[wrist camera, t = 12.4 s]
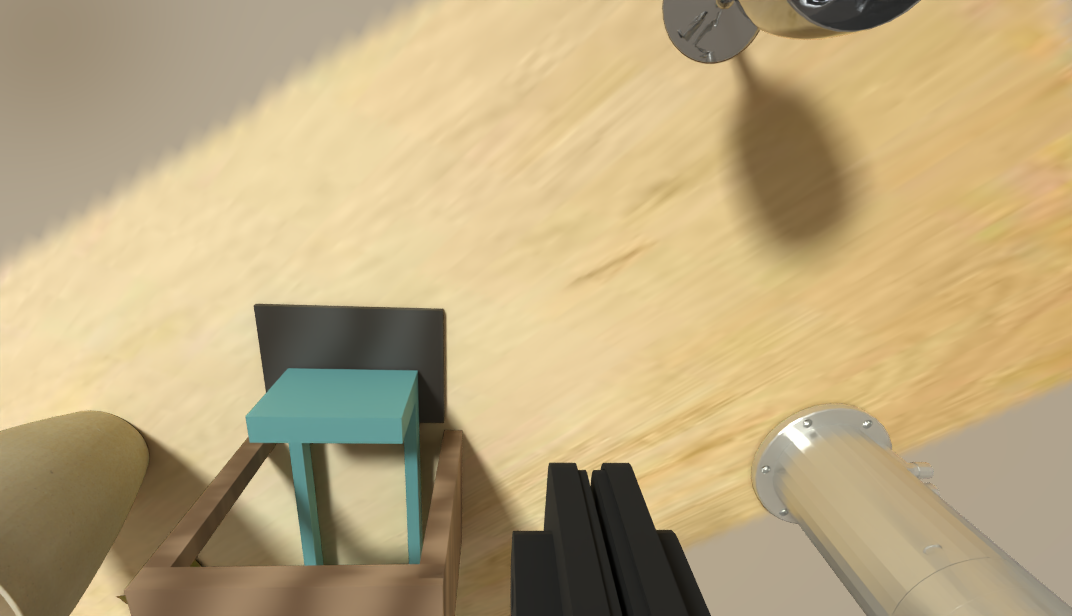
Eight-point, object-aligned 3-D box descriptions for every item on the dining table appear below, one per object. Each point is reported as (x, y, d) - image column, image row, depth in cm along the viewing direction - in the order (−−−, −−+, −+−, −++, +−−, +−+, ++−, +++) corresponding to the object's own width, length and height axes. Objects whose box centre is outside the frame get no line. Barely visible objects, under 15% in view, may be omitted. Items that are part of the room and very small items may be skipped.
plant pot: (119, 338, 39) (-122, 473, 24) (232, 484, 44) (91, 671, 29) (-46, 408, 40) (-378, 580, 25) (82, 543, 45) (-129, 753, 30)
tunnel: (462, 309, 40) (440, 416, 25) (461, 541, 47) (444, 726, 33) (235, 303, 38) (71, 412, 24) (272, 542, 46) (166, 736, 31)
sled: (417, 370, 40) (401, 418, 34) (425, 648, 51) (414, 726, 44) (287, 368, 40) (245, 416, 33) (322, 651, 50) (296, 730, 43)
